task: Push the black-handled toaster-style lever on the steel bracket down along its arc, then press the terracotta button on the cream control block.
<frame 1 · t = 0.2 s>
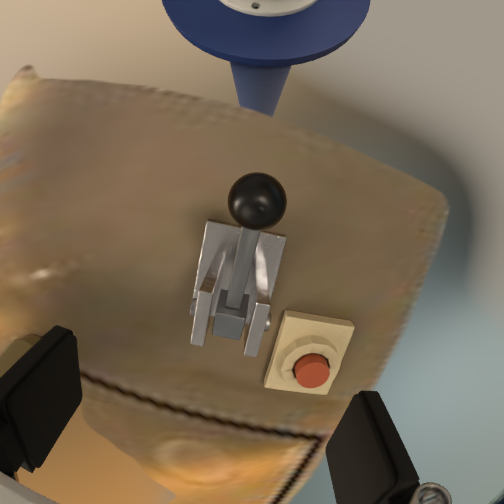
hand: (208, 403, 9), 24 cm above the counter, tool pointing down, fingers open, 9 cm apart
control block: (306, 351, 36), on the counter
squeeze bottle: (42, 351, 37), on the counter
bracket: (237, 272, 33), on the counter
button: (312, 371, 32), point 4 cm above the counter, slide at 0.1 cm
lever: (241, 266, 20), point 12 cm above the counter, hinge at 25.0°
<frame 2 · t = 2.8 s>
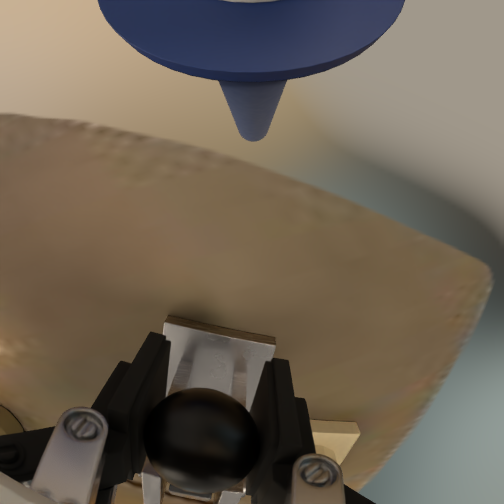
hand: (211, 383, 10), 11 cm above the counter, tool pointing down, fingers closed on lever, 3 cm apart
control block: (300, 452, 26), on the counter
squeeze bottle: (9, 419, 27), on the counter
bracket: (210, 378, 23), on the counter
lever: (195, 466, 10), point 12 cm above the counter, hinge at 25.0°, touching gripper
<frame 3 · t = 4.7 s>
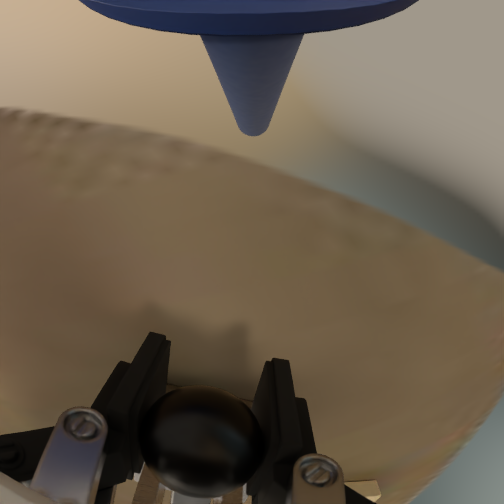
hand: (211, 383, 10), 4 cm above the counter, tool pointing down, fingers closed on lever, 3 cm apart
bracket: (198, 446, 16), on the counter
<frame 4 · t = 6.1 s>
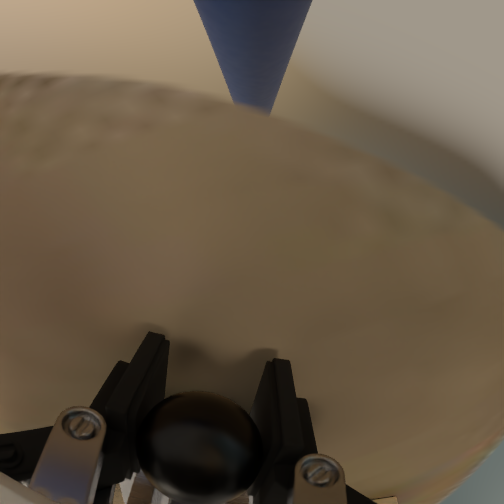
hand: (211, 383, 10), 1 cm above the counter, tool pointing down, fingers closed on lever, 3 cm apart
bracket: (194, 470, 13), on the counter
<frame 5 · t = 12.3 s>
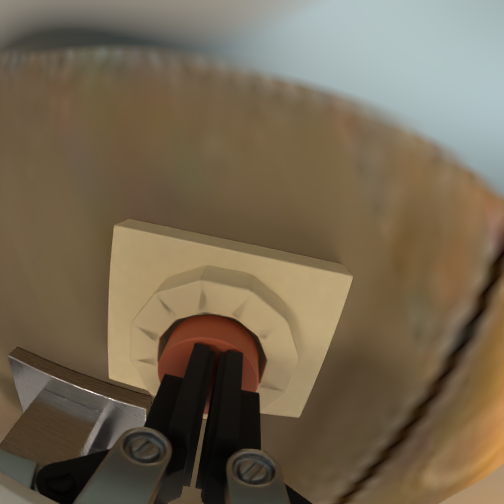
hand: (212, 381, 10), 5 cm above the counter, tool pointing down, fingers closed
control block: (218, 320, 15), on the counter
bracket: (82, 414, 17), on the counter
button: (209, 366, 11), point 4 cm above the counter, slide at -0.1 cm, touching gripper
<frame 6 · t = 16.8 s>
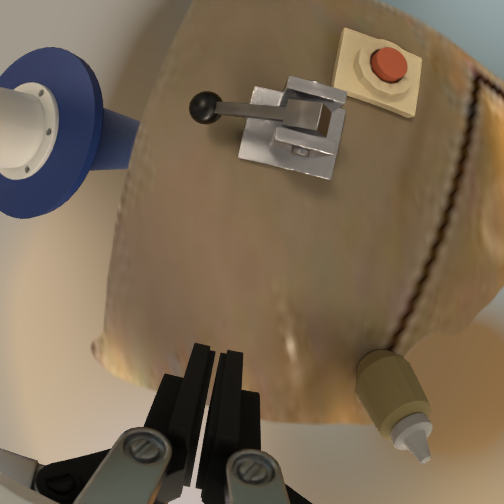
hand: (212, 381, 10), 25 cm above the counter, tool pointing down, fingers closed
control block: (376, 73, 29), on the counter
squeeze bottle: (375, 365, 39), on the counter
bracket: (292, 132, 32), on the counter
button: (389, 64, 26), point 4 cm above the counter, slide at 0.1 cm
lever: (251, 111, 24), point 7 cm above the counter, hinge at -30.5°
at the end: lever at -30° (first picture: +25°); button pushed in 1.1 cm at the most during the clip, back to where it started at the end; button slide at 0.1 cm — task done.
